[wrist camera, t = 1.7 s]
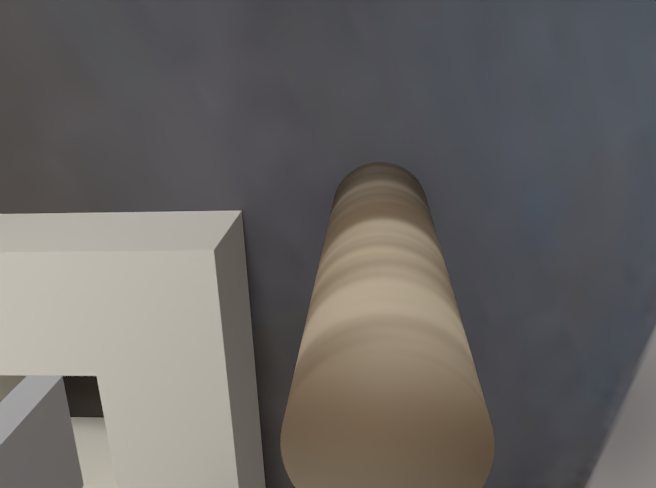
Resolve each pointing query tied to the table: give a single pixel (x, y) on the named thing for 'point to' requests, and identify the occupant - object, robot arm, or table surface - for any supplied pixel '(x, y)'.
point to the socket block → (139, 340)
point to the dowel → (384, 353)
